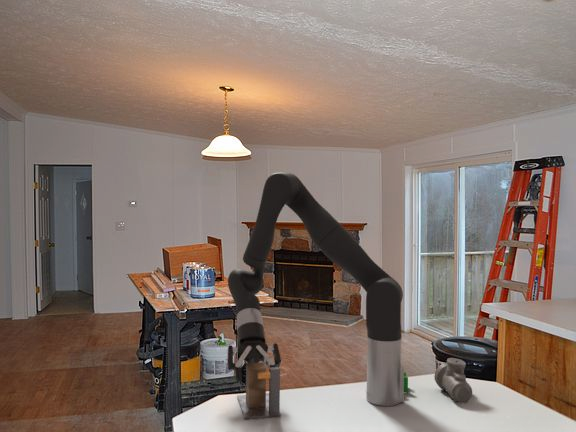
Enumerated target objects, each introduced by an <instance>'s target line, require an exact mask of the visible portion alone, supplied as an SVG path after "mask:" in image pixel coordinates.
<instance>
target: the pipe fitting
mask: <svg viewBox="0 0 576 432" xmlns="http://www.w3.org/2000/svg"><path fill="white" fill-rule="evenodd" d="M466 364H467V363H466V362H465V361H464V360H462V359H459V358H455V357H448V358H447V360H446V362H444V363H442V364H440V365H439V366H437V368H436V370H435V371H434V376H433V377H434V378H433V379H434V381H435V383H436V385H437V386H438V387H439V388H440V389H441V390H442V389H443V390H442V391H445V390H447V391H446V392H447V393H448V394H449V396H450V397H451V398H452V400H453V401H454V402H456V403H458V402H464V403H467V402H469V400H471V398H472V396H473V389H472V386H471V385H470V384H469V383H468V382H467V378H466V374H465V368H466Z"/></svg>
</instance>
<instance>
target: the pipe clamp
mask: <svg viewBox="0 0 576 432" xmlns="http://www.w3.org/2000/svg"><path fill="white" fill-rule="evenodd" d="M404 392H408V393H409V376H407V372H406V371H404Z"/></svg>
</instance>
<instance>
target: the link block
mask: <svg viewBox="0 0 576 432" xmlns="http://www.w3.org/2000/svg"><path fill="white" fill-rule="evenodd" d="M245 365H246V367H245V395H246V403H247V405H248V407H260V406H266V394H267V378H264V379H258V372H267V366H266V365H264V364H263V363H262V362H252V363H246V364H245Z"/></svg>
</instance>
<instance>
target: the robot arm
mask: <svg viewBox="0 0 576 432" xmlns="http://www.w3.org/2000/svg"><path fill="white" fill-rule="evenodd" d="M259 204H260V205H259V208H258V211H257V216H256V220H255V223H254V226H253V229H252V233H251V235H250V238H249V241H248V243H247V246H246V248H245V250H244V253H243V256H242V261H243V263H244V264H246V265H247V266H249V267H250V268H251V269H252V271H249V270H246V269H242V268H241V269H240V268H235V269H233V270H232V271H230V273H229V274H228V278H227V285H228V286H227V287H228V290H229V292H230V295H231V297H232V299H233V303H234V304H235V308H236V310H235V311H236V331H237V341H238V346H237V347H236V346H235V347H233V345H228V347H227V370H229V371H231V370H232V371H234V377H235V383H237V384H238V385H242V381H243V378H242V367H243V366H244V364H245V363H246V362H247V364H249V363H263V364H264V365H265V367H266V368H268V369H269V368H271V367H279V368H280V366H281V362H282V359H281V354H280V353H281V352H280V348H279V345H278V343H275V342H274V343H273V344H272V345H268V344H267V341H266V333H265V328H264V327H265V325H264V320H263V316H262V312H261V305H260V304H261V302H260V300H259V298H258V296H257V294H259V293H260V291H261V290H262V288H263V283H264V273H265V272H264V271H265V267H266V263H267V260H268V257H269V255H270V253H271V249H272V247H273V243H274V239H275V231H276V226H277V221H278V218H279V216H280V213H281V212H282V210H283V208H284V207H285V206H287V207H288V208H290V210H291V211H293V212H294V213H295V214H296V215H297V216H298V218H299V219H300V220H301V222H302V223H303V225H304V227H305V230H306V231H307V234H308V235H309V237H310V238H311V240H312V242H313V243H314V245H315V246H316V247H317V248H318V249H319V250H320V251H321V252H322V253H323V254H324V256H325V257H327V258H328V259H329V260H330V261H331V262H332V263H333V264H335V265H336V266H338V268H340V269H342V270H343V271H345V273H348V275H351V276H352V277H353V278H354V279H355V281H357V282H358V284H359V285H360V286H361V287H362V288H363V290H364V292H366V296H365V326H366V334H367V335H366V336H367V337H366V339H367V340H366V350H367V351H366V400H367V401H368V402H369V403H371V404H373V405H377V406H382V407H383V406H384V407H391V406H396V405H399V404H401V403H404V401H405V400H404V399H405V393H404V372H405V368H404V366H403V365H402V334H403V333H402V323H401V322H402V321H401V317H402V316H401V315H402V314H401V313H402V306H401V304H402V302H403V297H404V294H403V293H404V292H403V289H402V286H401V285H400V284H399V282H398V281H397V280H396V279H395V278H393V276H391V275H390V274H388V273H387V272H386V271H385V270H384V269H383V268H382V267H380V266H379V265H378V264H377V263H376V262H375V261H374V260H373V259H372V258H371V257H370V256H369V255H368V253H367V252H366V251H365V249H364V248H362V246H361V245H360V244H359V243H358V242H357V240H356V239H355V238H354V237H353V236H352V235H351V233H350V232H349V231H348V230H347V229H346V228H345V227H344V226H343V225H342V224H341V223H340V222H339V221H338V220H336V218H334V216H332V214H331V213H329V211H327V209H326V208H324V207H323V206H322V205H321V204H320V203H319V202H318V201H317V200H316V199H315V198H314V196H313V195H312V194H311V193H310V191H309V190H308V188H307V187H306V185H304V183H303V182H302V181H301V180H300V178H299V177H298V176H297V175H295V174H294V173H292V172H280V171H279V172H275V173H272V174H271V175H269V176H268V177H267V179H266V180H265V183H264V186H263V189H262V195H261V200H260V203H259ZM268 351H269V352H270V353H271V354H272V355H273V358H271V356H270V355H269V354H268ZM236 353H237V354H238V355H239V356H240V357H239V358H238V360H237V362H236V363H235V362H234V356H235V355H236Z"/></svg>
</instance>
